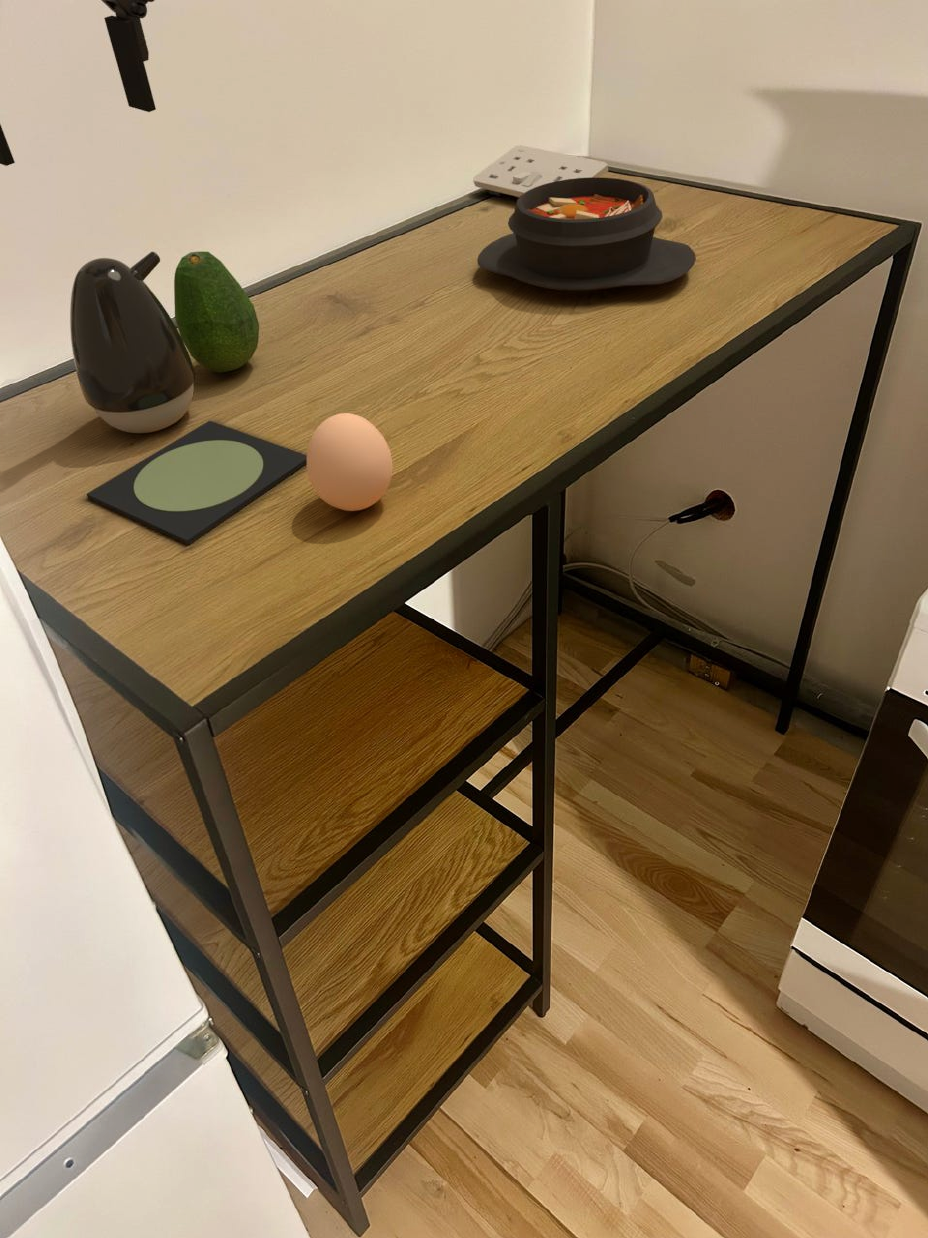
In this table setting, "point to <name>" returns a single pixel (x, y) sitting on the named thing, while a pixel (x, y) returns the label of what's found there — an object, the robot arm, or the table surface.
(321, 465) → the egg
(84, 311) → the pump dispenser
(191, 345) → the avocado
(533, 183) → the wall socket
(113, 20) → the robot arm
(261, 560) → the table surface
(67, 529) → the table surface
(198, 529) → the placemat
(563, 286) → the casserole
